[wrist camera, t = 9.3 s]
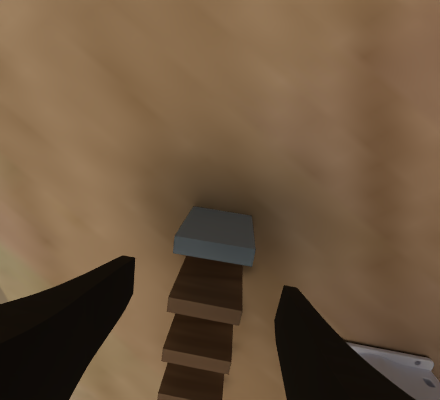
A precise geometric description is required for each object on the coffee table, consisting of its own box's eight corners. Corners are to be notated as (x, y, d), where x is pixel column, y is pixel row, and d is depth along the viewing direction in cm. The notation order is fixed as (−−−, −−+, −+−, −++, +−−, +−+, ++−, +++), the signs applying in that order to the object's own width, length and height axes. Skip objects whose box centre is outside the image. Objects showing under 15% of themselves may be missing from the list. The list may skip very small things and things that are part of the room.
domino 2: (187, 253, 22) (168, 297, 16) (242, 263, 22) (242, 311, 16) (186, 264, 22) (166, 311, 17) (240, 274, 22) (239, 325, 16)
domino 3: (182, 294, 23) (162, 348, 18) (234, 304, 23) (231, 362, 17) (181, 304, 24) (161, 361, 18) (231, 314, 23) (228, 374, 18)
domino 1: (193, 206, 21) (174, 235, 15) (251, 215, 20) (255, 249, 15) (191, 219, 21) (173, 253, 15) (249, 228, 21) (251, 266, 15)
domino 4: (177, 331, 25) (158, 393, 19) (226, 340, 24) (221, 406, 19) (176, 340, 25) (157, 403, 19) (224, 350, 25) (219, 416, 19)
